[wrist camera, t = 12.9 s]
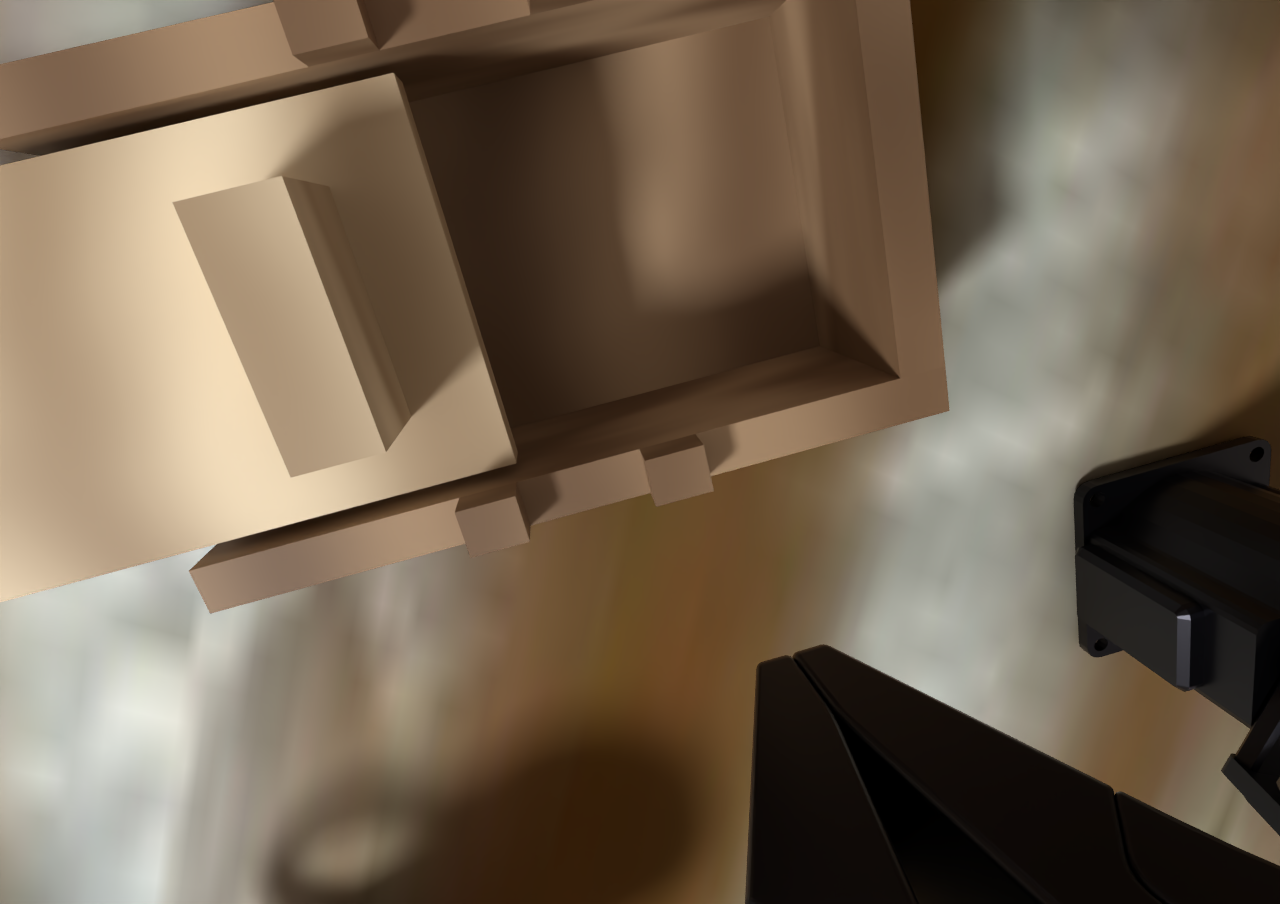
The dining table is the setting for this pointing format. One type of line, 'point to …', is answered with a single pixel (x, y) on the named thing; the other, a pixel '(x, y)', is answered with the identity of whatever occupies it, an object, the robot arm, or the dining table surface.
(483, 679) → the dining table surface
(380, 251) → the sliding box lid
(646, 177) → the toolbox
